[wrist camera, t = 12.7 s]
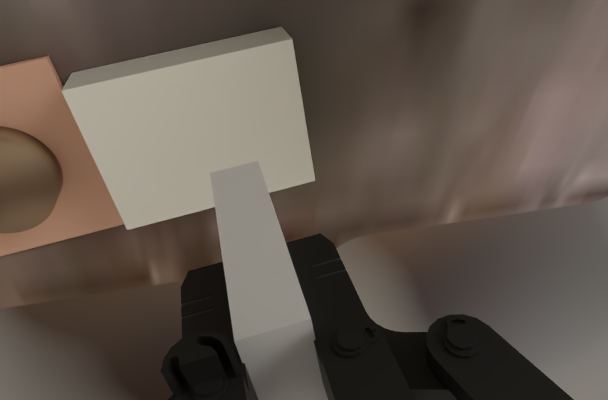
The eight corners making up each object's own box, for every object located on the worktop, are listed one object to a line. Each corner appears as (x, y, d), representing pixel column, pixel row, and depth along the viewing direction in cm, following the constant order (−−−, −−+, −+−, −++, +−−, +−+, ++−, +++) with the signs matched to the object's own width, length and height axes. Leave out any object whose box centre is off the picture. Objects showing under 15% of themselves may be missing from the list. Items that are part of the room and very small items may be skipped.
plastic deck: (71, 72, 34) (61, 90, 31) (281, 26, 36) (292, 38, 32) (130, 203, 41) (127, 230, 37) (304, 159, 43) (315, 180, 39)
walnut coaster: (-80, 143, 33) (-97, 158, 31) (30, 113, 34) (21, 126, 32) (-16, 227, 38) (-26, 245, 36) (80, 199, 39) (75, 216, 37)
